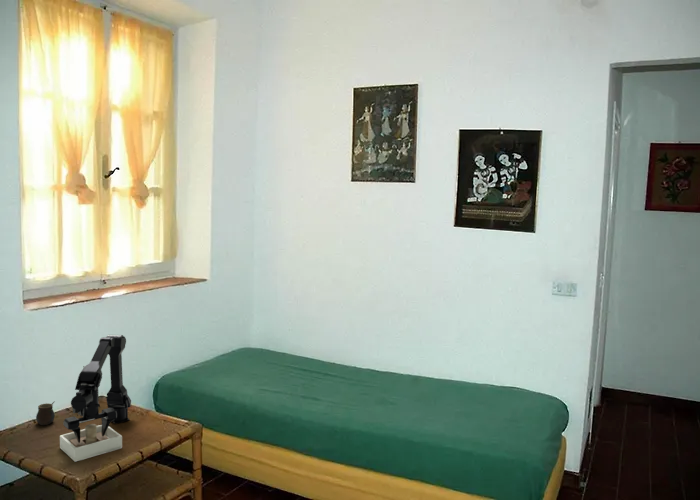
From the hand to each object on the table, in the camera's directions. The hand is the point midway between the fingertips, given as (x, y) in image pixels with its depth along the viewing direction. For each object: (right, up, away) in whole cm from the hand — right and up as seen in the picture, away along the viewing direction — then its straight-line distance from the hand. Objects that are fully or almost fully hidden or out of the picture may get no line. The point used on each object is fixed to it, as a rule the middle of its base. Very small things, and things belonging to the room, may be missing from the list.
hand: (91, 439), depth 229 cm
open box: (0, -4, 0) cm, 4 cm away
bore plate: (0, -3, 0) cm, 3 cm away
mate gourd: (-30, -1, +23) cm, 38 cm away
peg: (0, -3, 0) cm, 3 cm away
